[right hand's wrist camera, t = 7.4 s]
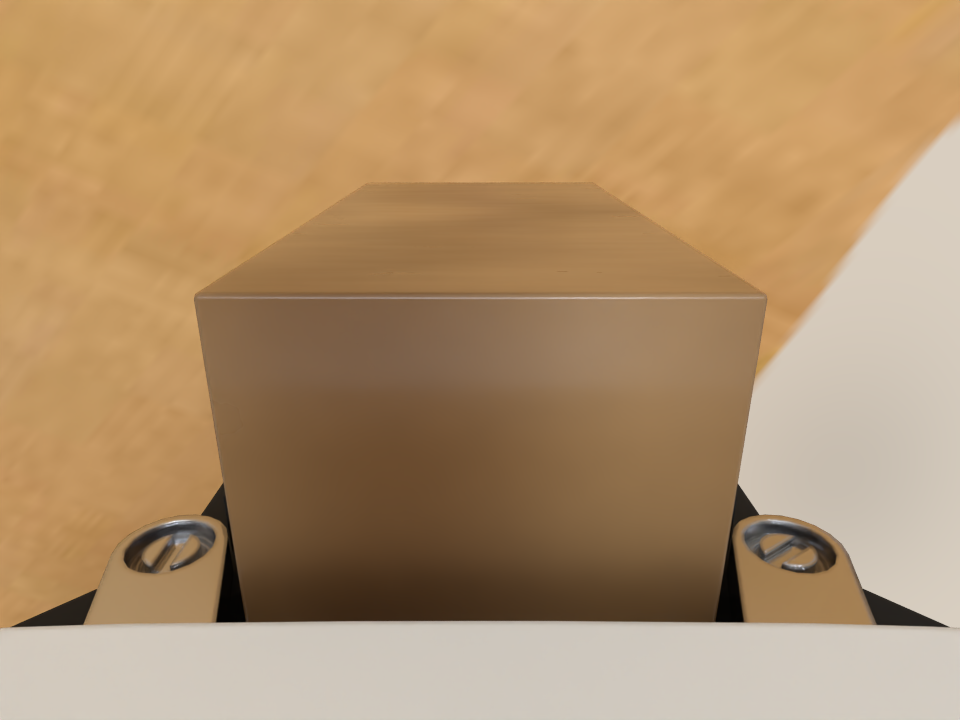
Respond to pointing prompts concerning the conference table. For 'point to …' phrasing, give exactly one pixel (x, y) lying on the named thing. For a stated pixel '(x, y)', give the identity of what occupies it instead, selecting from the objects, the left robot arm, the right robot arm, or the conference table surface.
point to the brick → (480, 409)
